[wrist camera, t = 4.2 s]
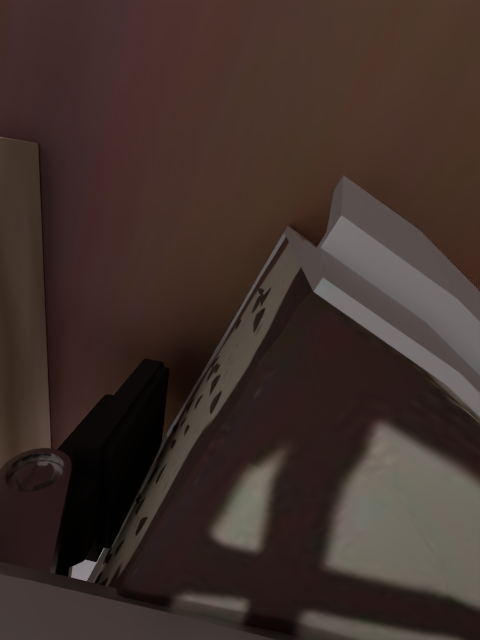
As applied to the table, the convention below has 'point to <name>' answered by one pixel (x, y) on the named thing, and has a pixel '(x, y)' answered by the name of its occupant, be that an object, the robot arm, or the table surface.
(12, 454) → the block
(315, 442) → the food container
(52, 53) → the table surface
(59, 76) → the table surface
